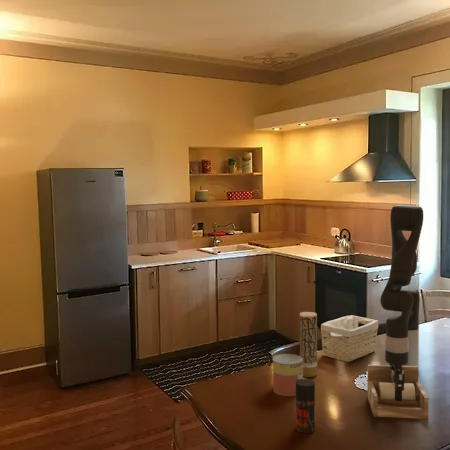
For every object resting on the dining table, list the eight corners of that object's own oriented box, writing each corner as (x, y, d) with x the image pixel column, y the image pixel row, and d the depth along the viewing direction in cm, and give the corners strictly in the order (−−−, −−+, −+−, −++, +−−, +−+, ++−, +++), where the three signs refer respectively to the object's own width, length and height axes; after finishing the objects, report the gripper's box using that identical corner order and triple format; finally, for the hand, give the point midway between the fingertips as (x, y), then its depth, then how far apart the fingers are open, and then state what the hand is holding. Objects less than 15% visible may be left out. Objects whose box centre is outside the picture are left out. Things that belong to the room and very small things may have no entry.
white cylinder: (378, 394, 180) (378, 379, 179) (411, 396, 178) (411, 380, 177) (381, 402, 174) (381, 386, 174) (415, 403, 173) (415, 387, 172)
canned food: (299, 397, 186) (299, 365, 185) (269, 394, 190) (269, 362, 189) (306, 386, 197) (305, 355, 196) (277, 382, 201) (276, 352, 200)
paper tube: (317, 378, 204) (316, 316, 202) (299, 377, 205) (299, 315, 203) (317, 372, 211) (317, 312, 209) (300, 371, 212) (300, 311, 210)
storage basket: (349, 344, 246) (349, 313, 245) (380, 351, 234) (380, 319, 233) (319, 356, 230) (318, 323, 229) (350, 365, 218) (349, 330, 217)
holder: (367, 397, 185) (367, 364, 184) (417, 398, 183) (417, 366, 182) (373, 416, 170) (373, 381, 169) (428, 418, 168) (428, 382, 167)
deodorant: (294, 424, 166) (293, 379, 164) (312, 423, 166) (312, 378, 165) (298, 433, 160) (298, 386, 159) (317, 432, 160) (317, 385, 159)
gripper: (413, 355, 167) (412, 406, 168) (403, 342, 181) (403, 389, 183) (389, 355, 168) (388, 405, 169) (381, 341, 182) (381, 388, 184)
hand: (396, 396), depth 176 cm, fingers closed on white cylinder, 5 cm apart
